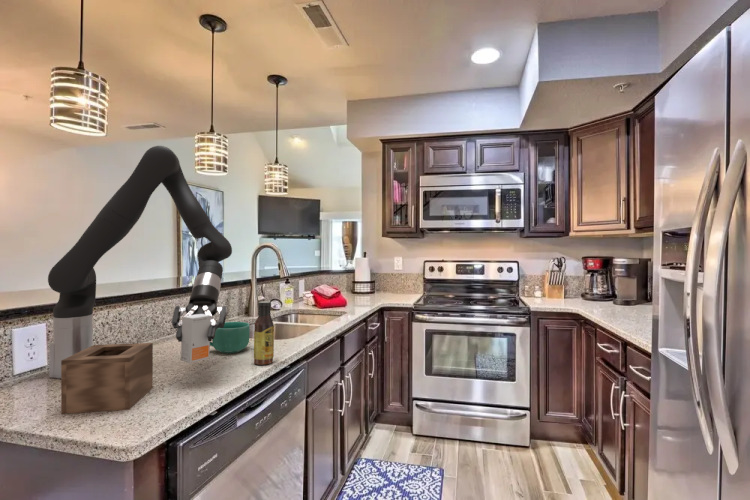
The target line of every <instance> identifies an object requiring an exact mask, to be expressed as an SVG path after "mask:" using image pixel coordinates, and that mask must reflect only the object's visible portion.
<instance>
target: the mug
mask: <svg viewBox="0 0 750 500" xmlns="http://www.w3.org/2000/svg"><path fill="white" fill-rule="evenodd" d="M250 330H251V329H250V323H248V322H245V321H225V324H224V327H223V328H217V329H216V333H215V338H214V339H212V341H210V346H211V347H213V348H214V350H215V351H217V352H220V353H222V354H235V353H239V352H241V351H243V350H244V349H246V348H247V347H248V346H249V343H250V334H251V333H250Z"/></svg>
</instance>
